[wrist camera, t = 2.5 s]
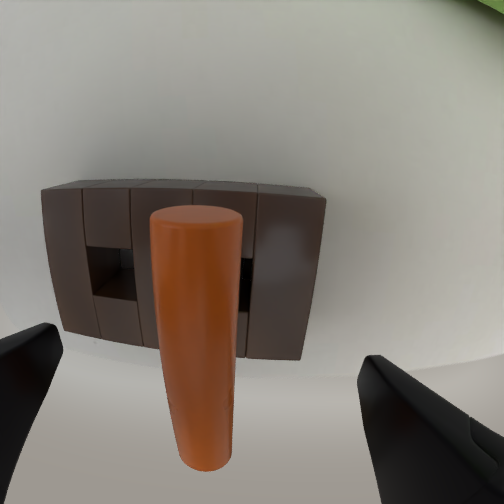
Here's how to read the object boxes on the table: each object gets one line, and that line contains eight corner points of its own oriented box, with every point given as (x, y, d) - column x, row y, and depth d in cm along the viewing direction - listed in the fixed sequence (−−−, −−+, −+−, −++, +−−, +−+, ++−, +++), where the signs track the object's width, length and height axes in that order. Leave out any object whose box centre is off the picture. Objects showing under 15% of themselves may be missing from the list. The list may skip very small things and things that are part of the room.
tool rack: (91, 301, 16) (63, 330, 13) (78, 180, 14) (40, 189, 10) (293, 322, 16) (300, 361, 13) (310, 187, 14) (327, 198, 11)
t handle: (211, 319, 16) (175, 468, 7) (214, 176, 14) (134, 221, 5) (242, 322, 16) (229, 475, 7) (251, 178, 14) (241, 227, 5)
